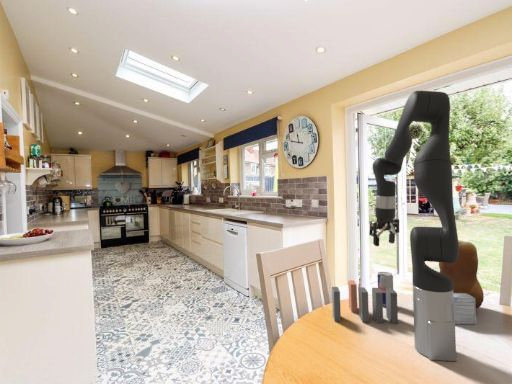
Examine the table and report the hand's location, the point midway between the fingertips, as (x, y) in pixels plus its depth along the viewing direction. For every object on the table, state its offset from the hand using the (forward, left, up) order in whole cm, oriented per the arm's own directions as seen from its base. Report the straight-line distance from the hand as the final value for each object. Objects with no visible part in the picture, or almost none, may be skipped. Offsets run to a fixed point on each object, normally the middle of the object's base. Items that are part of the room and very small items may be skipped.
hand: (384, 244), depth 117 cm
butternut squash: (-13, -22, -21) cm, 33 cm away
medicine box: (-24, -16, -21) cm, 35 cm away
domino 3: (-25, +14, -21) cm, 35 cm away
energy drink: (-12, +3, -21) cm, 24 cm away
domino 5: (-25, +5, -21) cm, 33 cm away
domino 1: (-25, +23, -21) cm, 40 cm away
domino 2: (-17, +16, -21) cm, 31 cm away
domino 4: (-25, +10, -21) cm, 34 cm away
